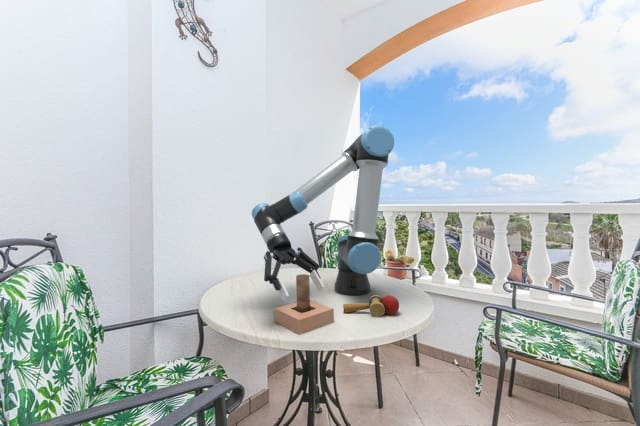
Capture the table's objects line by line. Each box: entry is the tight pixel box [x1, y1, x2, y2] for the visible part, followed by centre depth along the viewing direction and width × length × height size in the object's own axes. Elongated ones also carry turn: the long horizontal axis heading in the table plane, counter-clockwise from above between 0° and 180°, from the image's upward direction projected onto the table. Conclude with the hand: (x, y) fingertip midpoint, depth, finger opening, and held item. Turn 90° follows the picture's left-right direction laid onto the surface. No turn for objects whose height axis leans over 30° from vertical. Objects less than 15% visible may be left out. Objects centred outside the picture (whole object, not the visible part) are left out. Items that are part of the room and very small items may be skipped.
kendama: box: [342, 294, 400, 318], centre depth 95 cm, size 8×6×18 cm
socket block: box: [273, 299, 335, 335], centre depth 88 cm, size 13×13×4 cm
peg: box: [295, 273, 311, 313], centre depth 88 cm, size 4×4×14 cm
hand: (304, 293), depth 87 cm, fingers open, 13 cm apart
